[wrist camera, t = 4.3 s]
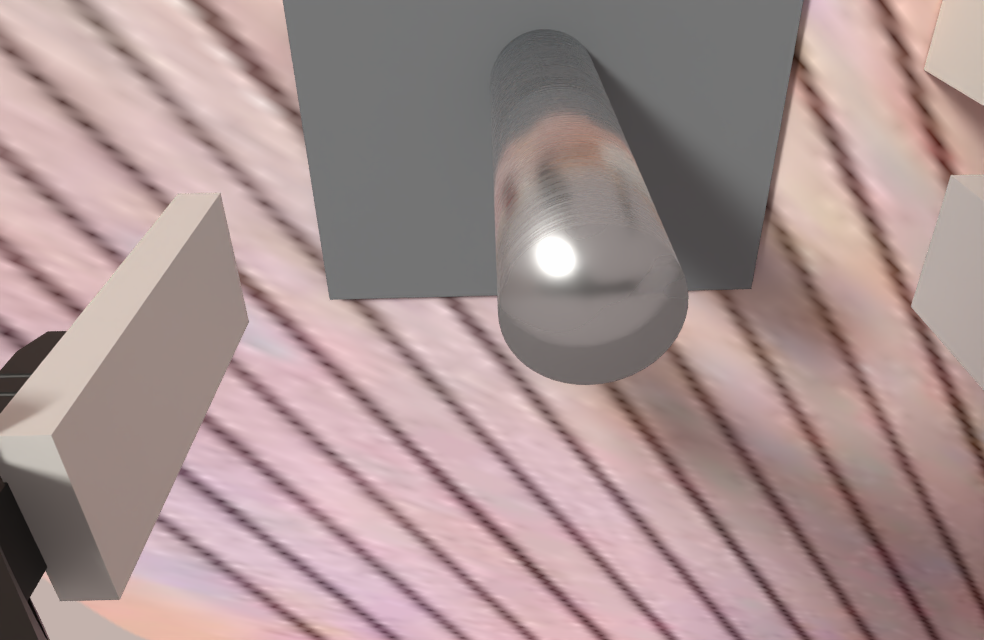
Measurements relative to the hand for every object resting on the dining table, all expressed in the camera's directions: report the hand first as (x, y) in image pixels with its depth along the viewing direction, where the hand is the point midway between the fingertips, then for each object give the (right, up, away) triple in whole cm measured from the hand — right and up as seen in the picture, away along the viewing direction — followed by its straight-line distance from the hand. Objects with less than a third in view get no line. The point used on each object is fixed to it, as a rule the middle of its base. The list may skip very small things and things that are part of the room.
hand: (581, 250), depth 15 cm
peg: (0, +5, +8) cm, 10 cm away
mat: (0, +6, +8) cm, 10 cm away
